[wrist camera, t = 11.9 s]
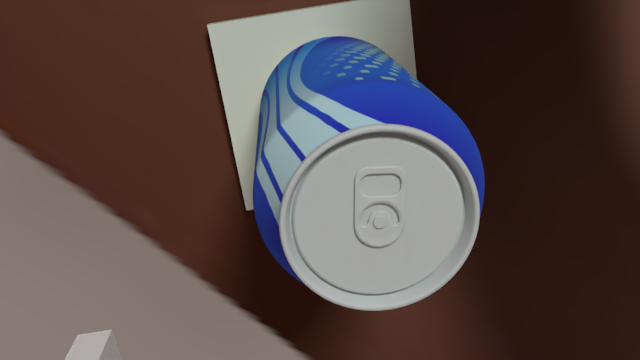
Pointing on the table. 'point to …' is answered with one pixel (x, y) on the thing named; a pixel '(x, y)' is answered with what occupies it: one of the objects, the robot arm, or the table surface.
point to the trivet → (278, 41)
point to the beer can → (363, 177)
